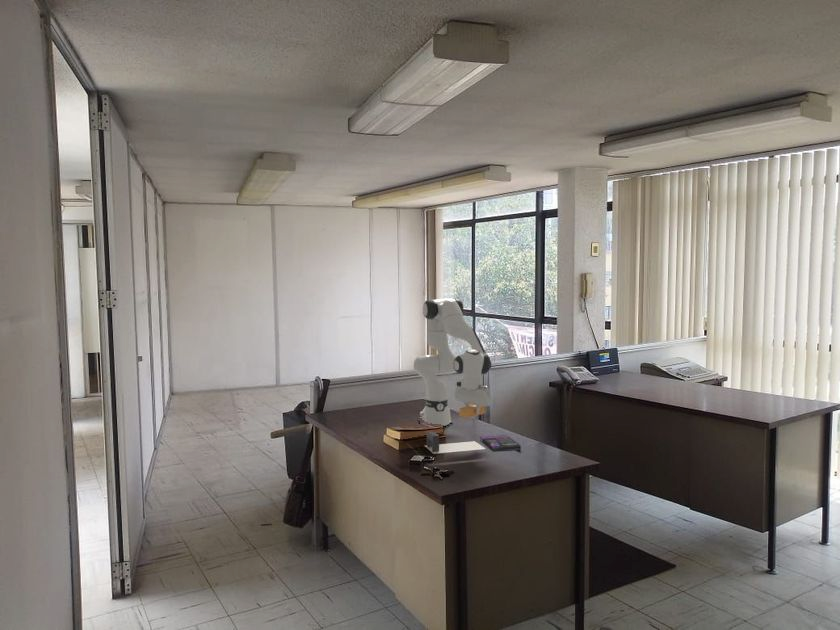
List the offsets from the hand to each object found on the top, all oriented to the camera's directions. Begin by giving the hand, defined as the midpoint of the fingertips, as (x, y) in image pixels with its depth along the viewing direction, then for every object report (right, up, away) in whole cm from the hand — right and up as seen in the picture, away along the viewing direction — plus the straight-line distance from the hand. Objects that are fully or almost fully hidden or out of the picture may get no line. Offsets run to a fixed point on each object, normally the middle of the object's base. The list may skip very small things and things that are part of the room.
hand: (472, 412), depth 292 cm
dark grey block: (-19, -16, -4) cm, 25 cm away
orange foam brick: (0, -1, 0) cm, 1 cm away
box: (+13, -18, +4) cm, 23 cm away
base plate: (-9, -17, -1) cm, 19 cm away
